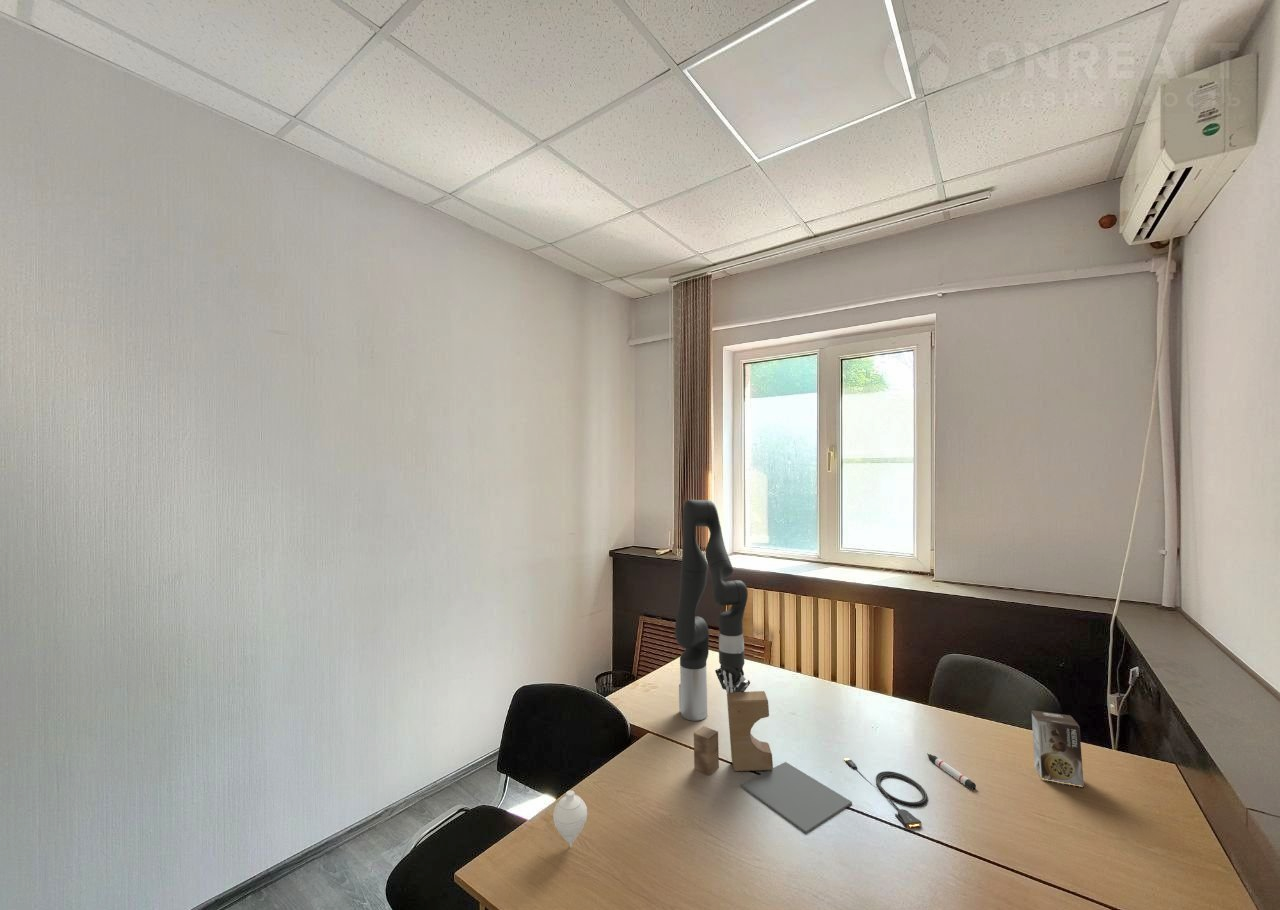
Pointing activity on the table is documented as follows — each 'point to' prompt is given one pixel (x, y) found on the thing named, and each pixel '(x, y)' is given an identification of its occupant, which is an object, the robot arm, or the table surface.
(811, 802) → the mat
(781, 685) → the table surface
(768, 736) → the table surface
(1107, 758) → the table surface
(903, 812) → the cable
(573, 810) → the spinning top
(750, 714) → the decorative block
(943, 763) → the marker
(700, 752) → the walnut block
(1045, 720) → the coffee box
